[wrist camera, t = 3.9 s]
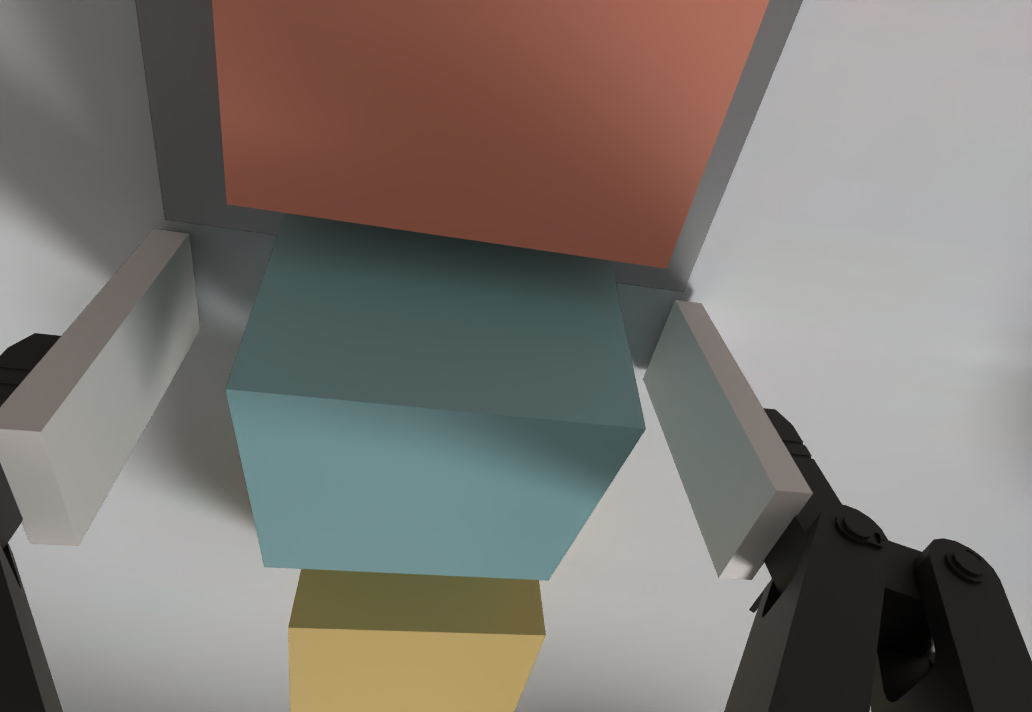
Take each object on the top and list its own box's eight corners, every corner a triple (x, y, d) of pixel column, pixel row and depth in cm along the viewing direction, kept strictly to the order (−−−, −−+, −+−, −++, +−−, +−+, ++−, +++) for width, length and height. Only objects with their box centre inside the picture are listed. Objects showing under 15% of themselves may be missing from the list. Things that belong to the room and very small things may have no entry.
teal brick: (533, 371, 18) (548, 580, 14) (315, 347, 17) (264, 566, 13) (597, 195, 13) (646, 428, 9) (306, 148, 12) (225, 388, 8)
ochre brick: (491, 569, 23) (500, 744, 19) (325, 560, 22) (291, 744, 18) (523, 456, 20) (545, 635, 15) (329, 440, 19) (288, 627, 14)
